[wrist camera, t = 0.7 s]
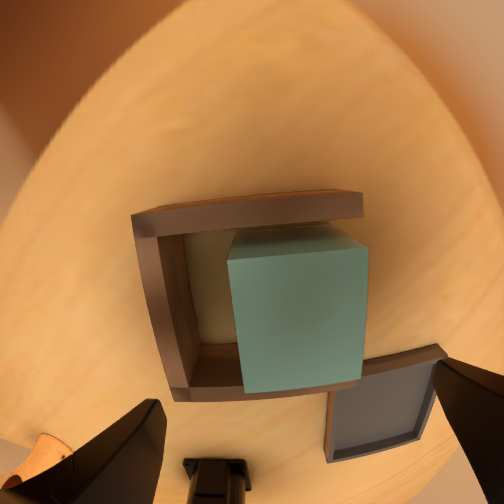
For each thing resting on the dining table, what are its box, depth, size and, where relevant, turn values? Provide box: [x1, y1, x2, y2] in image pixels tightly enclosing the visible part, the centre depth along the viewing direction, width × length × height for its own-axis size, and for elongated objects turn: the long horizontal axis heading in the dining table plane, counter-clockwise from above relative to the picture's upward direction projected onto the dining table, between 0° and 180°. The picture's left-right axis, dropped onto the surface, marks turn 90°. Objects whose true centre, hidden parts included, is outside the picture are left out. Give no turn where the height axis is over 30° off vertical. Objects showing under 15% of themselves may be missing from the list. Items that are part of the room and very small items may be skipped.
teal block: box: [227, 224, 368, 393], centre depth 16 cm, size 7×6×7 cm
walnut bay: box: [131, 189, 363, 402], centre depth 17 cm, size 11×11×5 cm
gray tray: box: [324, 344, 448, 464], centre depth 21 cm, size 11×10×2 cm
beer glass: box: [0, 434, 73, 489], centre depth 18 cm, size 7×7×15 cm
